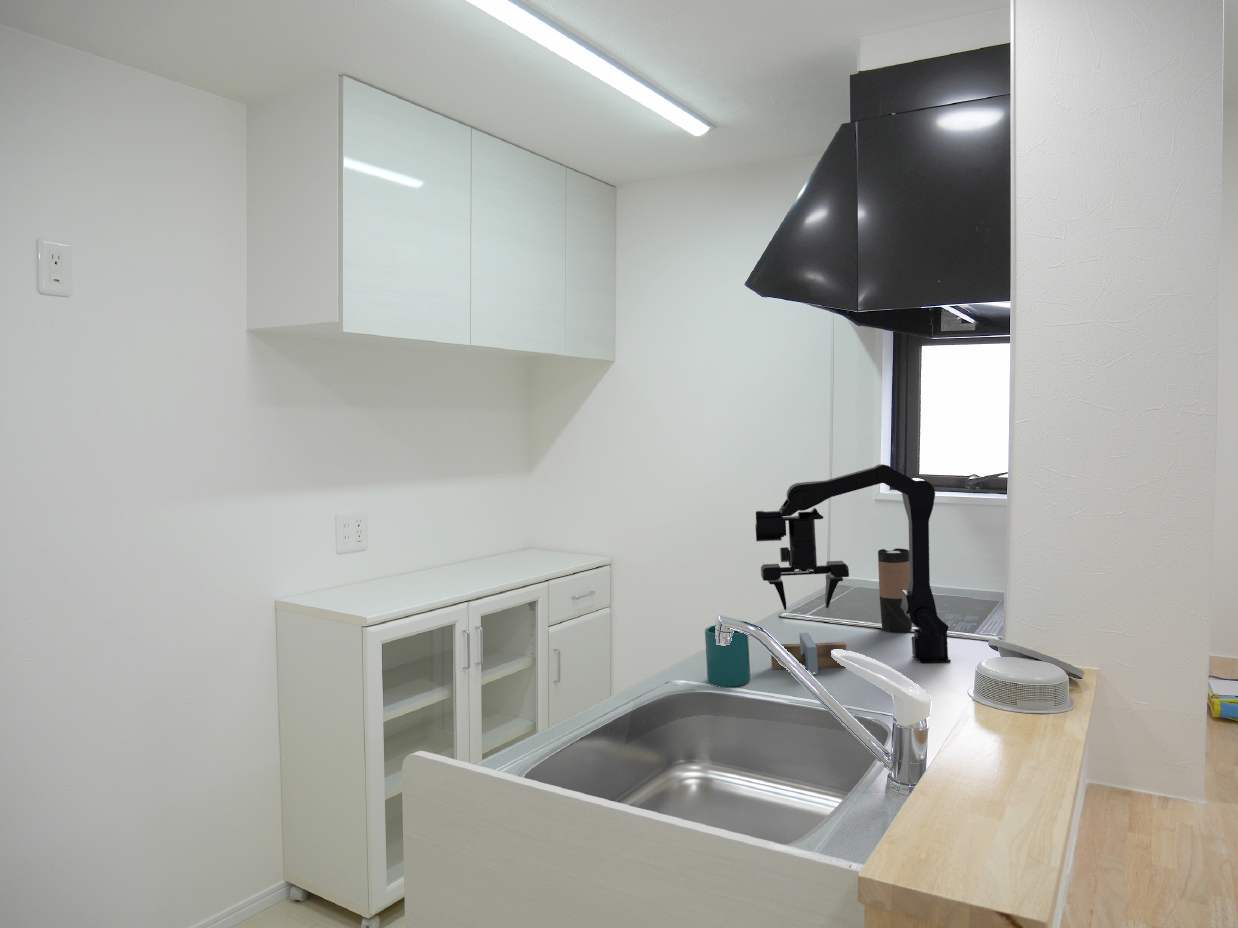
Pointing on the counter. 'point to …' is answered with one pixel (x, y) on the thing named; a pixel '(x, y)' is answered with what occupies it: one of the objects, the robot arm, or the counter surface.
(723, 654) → the cup
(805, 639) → the slate block
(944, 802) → the counter surface
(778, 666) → the walnut board
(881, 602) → the travel mug
